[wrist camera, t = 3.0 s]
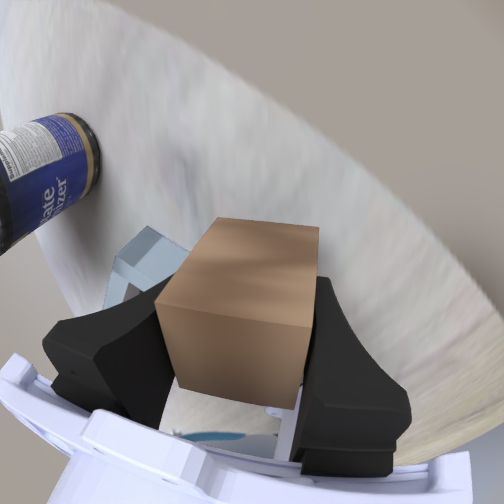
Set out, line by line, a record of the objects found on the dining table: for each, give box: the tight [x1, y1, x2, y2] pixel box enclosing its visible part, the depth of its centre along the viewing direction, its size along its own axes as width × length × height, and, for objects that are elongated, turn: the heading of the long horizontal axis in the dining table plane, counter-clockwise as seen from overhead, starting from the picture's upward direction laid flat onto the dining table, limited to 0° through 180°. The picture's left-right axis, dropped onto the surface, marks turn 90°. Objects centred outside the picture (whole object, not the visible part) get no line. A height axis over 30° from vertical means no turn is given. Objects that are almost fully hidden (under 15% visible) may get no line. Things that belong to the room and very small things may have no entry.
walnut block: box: [154, 217, 319, 410], centre depth 12 cm, size 4×4×6 cm
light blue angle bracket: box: [103, 226, 190, 310], centre depth 20 cm, size 8×12×4 cm
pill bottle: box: [0, 113, 99, 256], centre depth 11 cm, size 6×6×11 cm
